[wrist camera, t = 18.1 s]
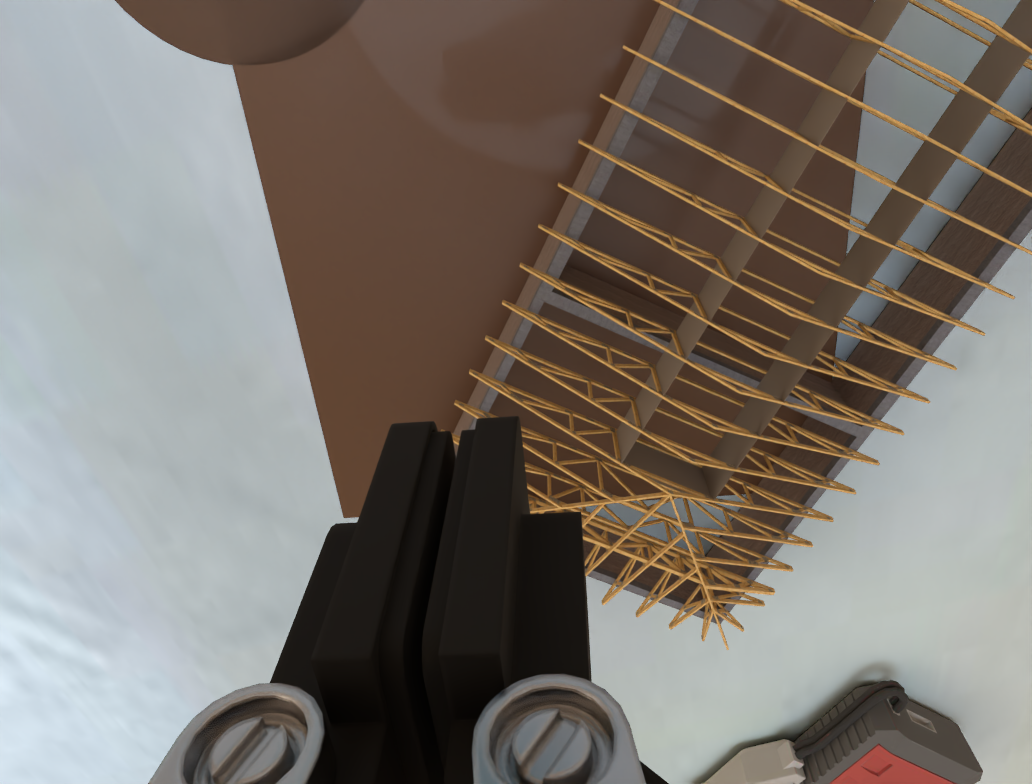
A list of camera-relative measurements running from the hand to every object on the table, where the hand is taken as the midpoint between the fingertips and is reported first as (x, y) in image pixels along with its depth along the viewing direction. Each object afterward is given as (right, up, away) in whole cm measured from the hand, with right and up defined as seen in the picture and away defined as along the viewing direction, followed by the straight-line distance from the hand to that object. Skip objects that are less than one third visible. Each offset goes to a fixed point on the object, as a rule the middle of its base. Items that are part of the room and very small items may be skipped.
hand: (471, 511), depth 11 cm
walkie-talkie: (+15, -19, +31) cm, 39 cm away
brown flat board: (0, +9, +16) cm, 18 cm away
